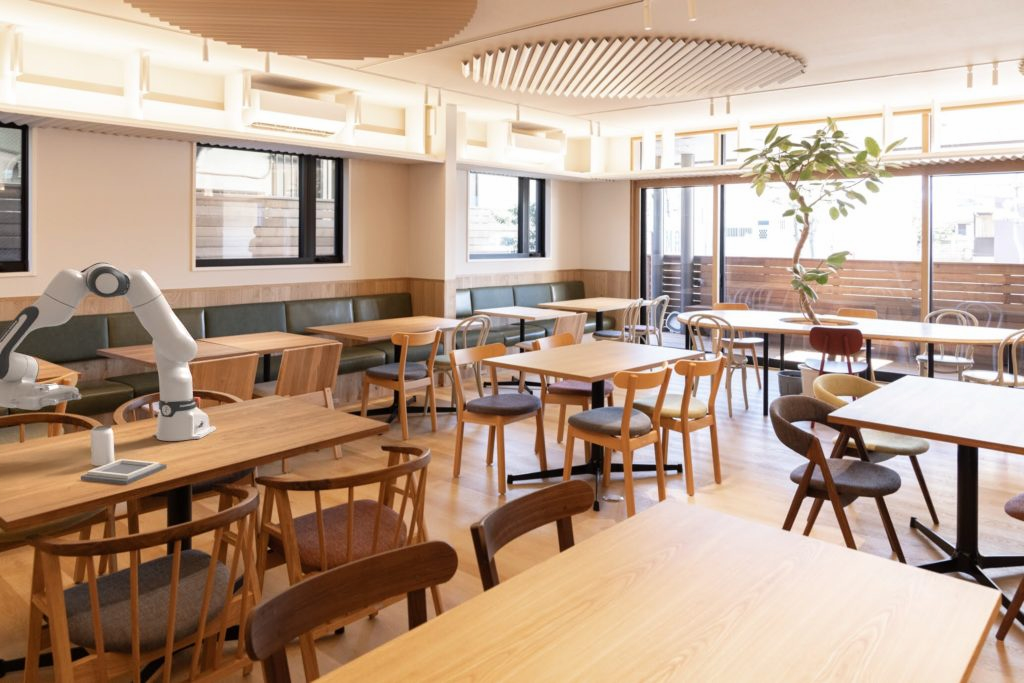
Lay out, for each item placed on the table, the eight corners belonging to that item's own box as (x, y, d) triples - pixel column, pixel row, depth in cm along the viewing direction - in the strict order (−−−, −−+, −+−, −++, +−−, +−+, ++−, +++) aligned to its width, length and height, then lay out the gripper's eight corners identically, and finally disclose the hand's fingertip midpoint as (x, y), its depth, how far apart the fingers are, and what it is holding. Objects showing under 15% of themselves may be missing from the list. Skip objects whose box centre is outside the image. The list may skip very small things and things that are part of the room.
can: (105, 467, 252) (103, 430, 251) (87, 465, 254) (85, 429, 252) (119, 461, 259) (117, 425, 257) (101, 460, 260) (99, 424, 258)
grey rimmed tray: (123, 463, 257) (123, 457, 256) (166, 468, 253) (166, 461, 252) (80, 479, 239) (80, 472, 239) (126, 484, 235) (125, 477, 235)
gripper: (5, 392, 249) (42, 395, 246) (57, 381, 269) (91, 384, 266) (6, 412, 250) (42, 415, 247) (57, 400, 270) (92, 403, 266)
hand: (68, 399), depth 256 cm, fingers open, 8 cm apart
